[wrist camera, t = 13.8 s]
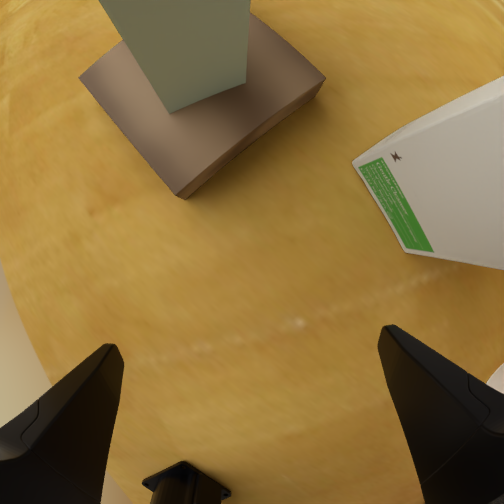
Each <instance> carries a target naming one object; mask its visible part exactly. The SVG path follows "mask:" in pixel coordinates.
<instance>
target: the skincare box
mask: <svg viewBox="0 0 504 504" xmlns="http://www.w3.org/2000/svg"><path fill="white" fill-rule="evenodd" d="M352 164H353V167H354V168H355V170H356V171H357V173H358V174H359V175H360V177H361V178H362V180H363V181H364V183H365V185H366V186H367V188H368V190H369V192H370V193H371V195H372V196H373V198H374V200H375V201H376V203H377V204H378V206H379V208H380V209H381V211H382V213H383V214H384V216H385V218H386V219H387V221H388V223H389V224H390V226H391V228H392V230H393V232H394V233H395V235H396V237H397V239H398V241H399V243H400V245H401V247H402V249H403V250H404V251H405V252H406V253H410V254H417V255H423V256H429V257H435V258H440V259H446V260H451V261H457V262H463V263H469V264H474V265H479V266H485V267H489V268H495V269H500V270H504V76H502V77H500V78H498V79H496V80H494V81H492V82H490V83H487V84H485V85H483V86H481V87H479V88H477V89H475V90H473V91H471V92H469V93H467V94H465V95H463V96H461V97H459V98H457V99H455V100H453V101H451V102H449V103H447V104H445V105H443V106H441V107H439V108H437V109H435V110H434V111H432V112H430V113H428V114H426V115H424V116H422V117H420V118H418V119H416V120H414V121H412V122H410V123H408V124H406V125H405V126H403V127H401V128H400V129H398V130H397V131H395V132H393V133H392V134H390V135H389V136H387V137H386V138H384V139H383V140H381V141H380V142H378V143H377V144H376V145H374V146H373V147H371V148H370V149H368V150H367V151H366V152H364V153H363V154H361V155H360V156H359V157H357V158H356V159H354V160H353V162H352Z"/></svg>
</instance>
